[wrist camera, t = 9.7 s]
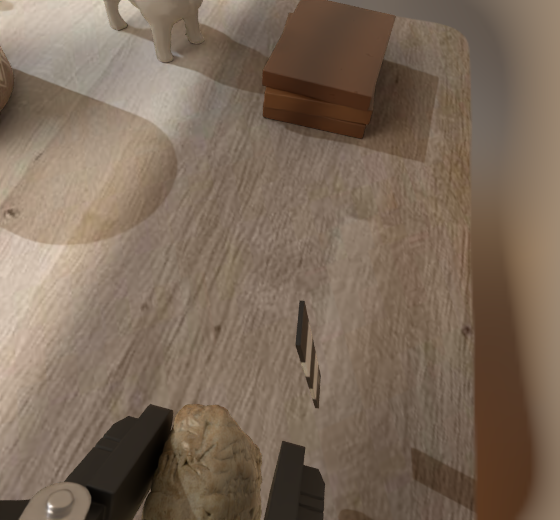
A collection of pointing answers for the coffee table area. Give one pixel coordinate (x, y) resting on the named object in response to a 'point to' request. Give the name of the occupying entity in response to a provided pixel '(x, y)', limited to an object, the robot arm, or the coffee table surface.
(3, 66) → the planter
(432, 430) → the coffee table surface
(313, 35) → the slab pile
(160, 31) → the dog figurine
